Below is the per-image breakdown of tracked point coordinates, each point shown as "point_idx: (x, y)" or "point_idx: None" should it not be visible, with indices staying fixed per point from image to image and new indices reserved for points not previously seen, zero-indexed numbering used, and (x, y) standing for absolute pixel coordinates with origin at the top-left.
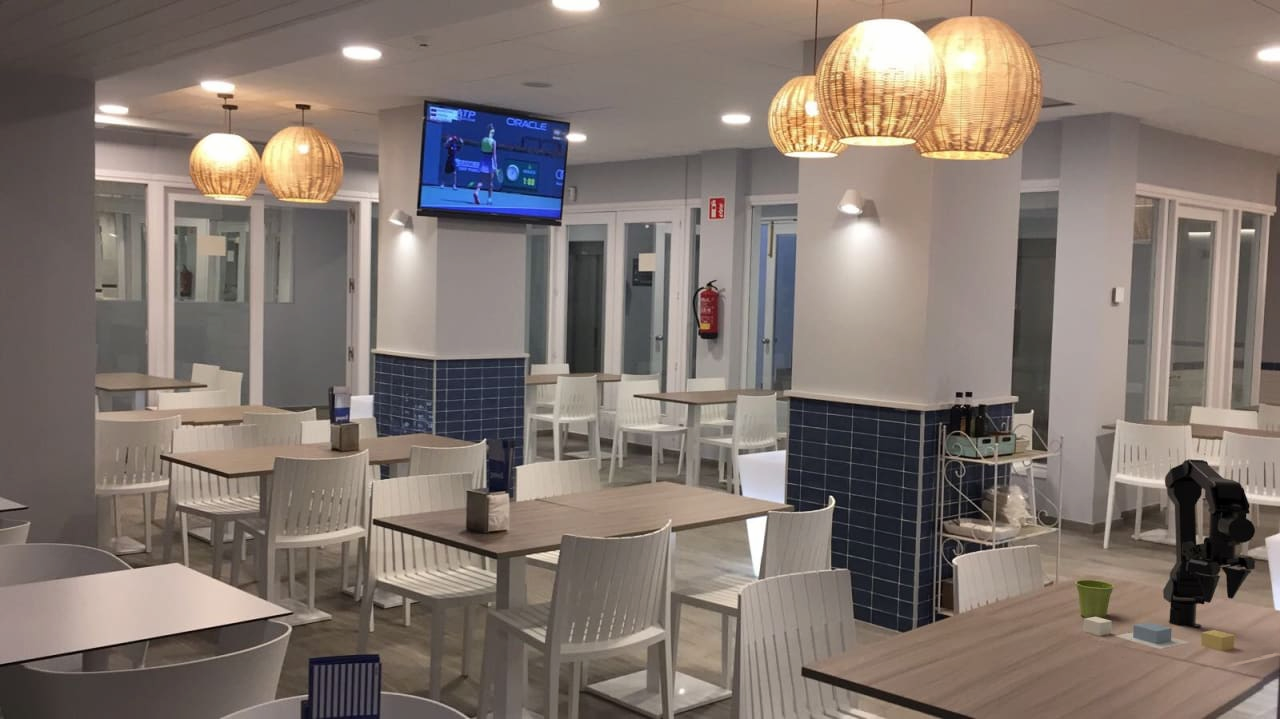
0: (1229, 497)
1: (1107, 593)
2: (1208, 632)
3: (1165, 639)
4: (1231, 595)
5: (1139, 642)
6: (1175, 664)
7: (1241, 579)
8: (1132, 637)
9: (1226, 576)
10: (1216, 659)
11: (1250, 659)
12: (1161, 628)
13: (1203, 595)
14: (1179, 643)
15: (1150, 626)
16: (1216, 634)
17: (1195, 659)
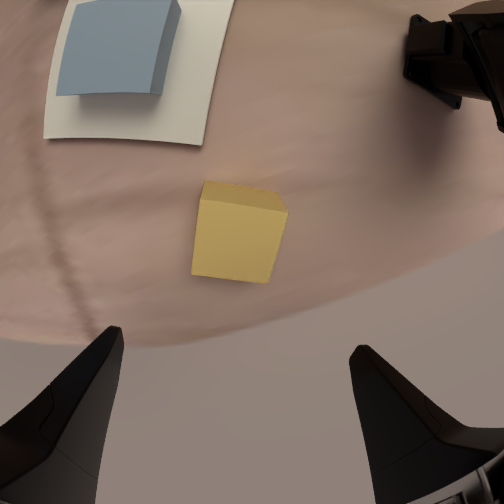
0: None
1: None
2: (223, 215)
3: (124, 93)
4: (355, 371)
5: (55, 64)
6: (10, 221)
7: (372, 473)
8: None
9: (429, 435)
10: (128, 258)
11: (215, 304)
12: (111, 73)
13: (85, 349)
14: (153, 129)
15: (106, 35)
16: (219, 245)
17: (77, 226)
